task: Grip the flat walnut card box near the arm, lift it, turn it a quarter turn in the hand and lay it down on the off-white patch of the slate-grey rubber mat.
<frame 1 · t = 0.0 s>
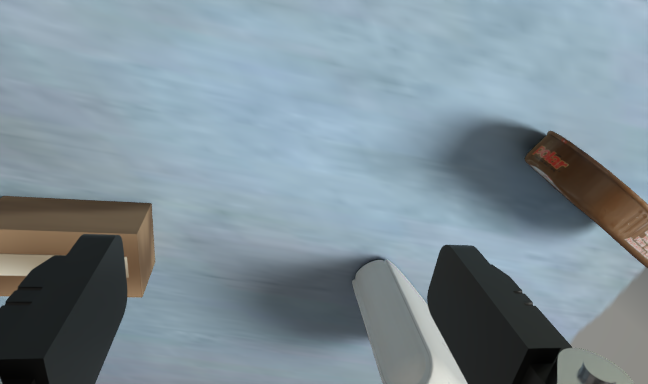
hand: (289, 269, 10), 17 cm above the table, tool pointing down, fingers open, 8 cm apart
tin: (568, 181, 32), on the table
card box: (85, 229, 28), on the table
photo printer: (393, 296, 35), on the table
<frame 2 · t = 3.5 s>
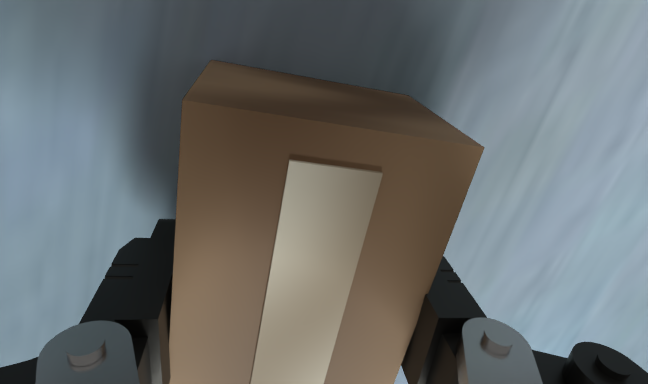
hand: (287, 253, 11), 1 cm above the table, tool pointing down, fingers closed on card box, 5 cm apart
card box: (286, 232, 12), on the table, touching gripper
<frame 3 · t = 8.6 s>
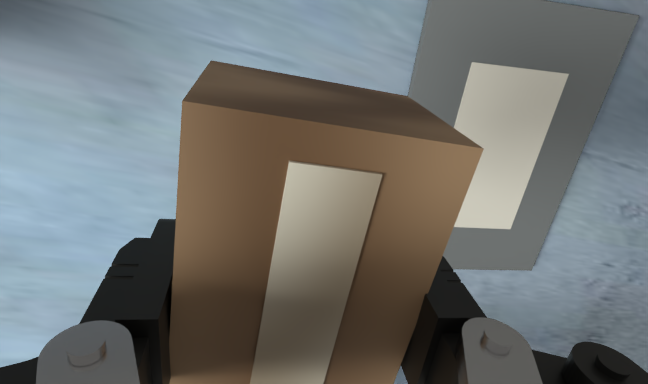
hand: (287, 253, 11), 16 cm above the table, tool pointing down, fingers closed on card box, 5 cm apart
card box: (285, 233, 12), point 15 cm above the table, touching gripper
mat: (488, 151, 29), on the table
when the fingers open (3 cm above the table, at t = 13.8 s): card box stays where it is, resting on mat.
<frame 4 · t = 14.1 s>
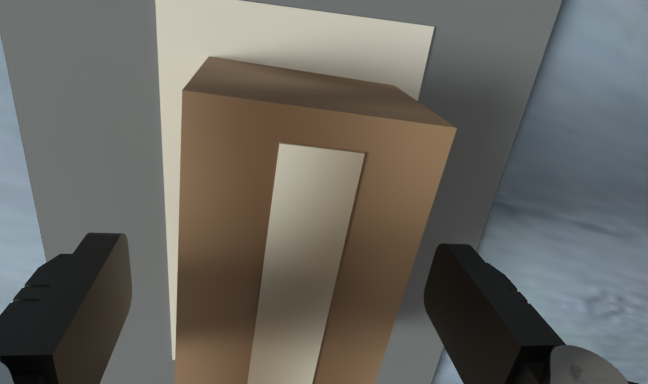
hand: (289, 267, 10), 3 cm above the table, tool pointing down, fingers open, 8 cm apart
card box: (283, 218, 13), point 1 cm above the table, touching mat
mat: (282, 207, 13), on the table
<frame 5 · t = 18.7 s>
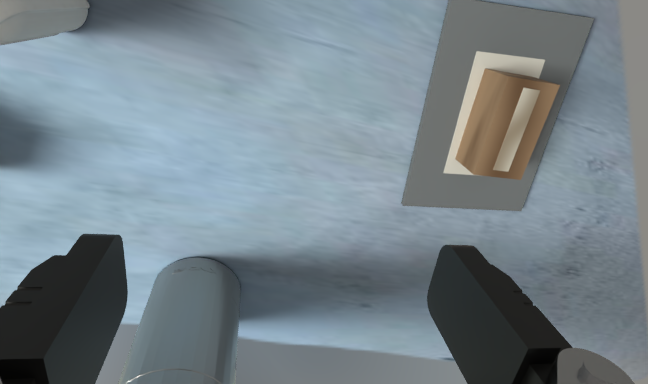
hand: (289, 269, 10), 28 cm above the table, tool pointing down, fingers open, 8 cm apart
card box: (492, 119, 39), point 1 cm above the table, touching mat
mat: (488, 117, 40), on the table
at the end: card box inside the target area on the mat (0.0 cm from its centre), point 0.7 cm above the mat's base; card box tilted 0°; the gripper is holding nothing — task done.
